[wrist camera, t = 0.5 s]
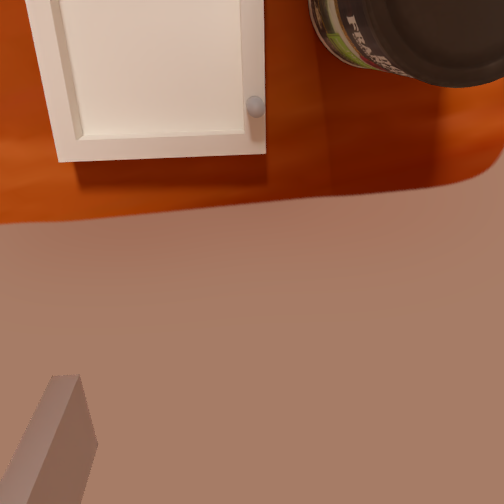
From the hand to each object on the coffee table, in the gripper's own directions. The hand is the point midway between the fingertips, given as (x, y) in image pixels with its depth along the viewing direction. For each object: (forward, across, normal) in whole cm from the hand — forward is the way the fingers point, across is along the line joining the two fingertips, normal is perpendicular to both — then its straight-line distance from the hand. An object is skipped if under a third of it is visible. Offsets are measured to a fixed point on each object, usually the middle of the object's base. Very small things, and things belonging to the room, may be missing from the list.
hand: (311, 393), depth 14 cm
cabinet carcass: (+26, -7, +10) cm, 29 cm away
